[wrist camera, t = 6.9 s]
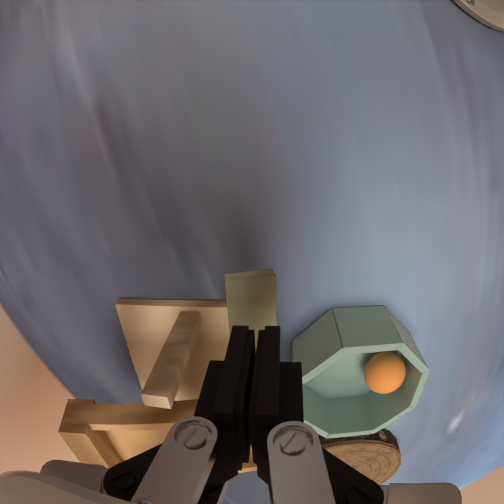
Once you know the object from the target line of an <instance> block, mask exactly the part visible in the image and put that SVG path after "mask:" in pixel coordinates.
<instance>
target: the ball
mask: <svg viewBox="0 0 504 504" xmlns="http://www.w3.org/2000/svg"><path fill="white" fill-rule="evenodd" d="M405 374H406V368H405V364H404V362H403V360H402V359H401V358H400V357H399V356H398V355H397V354H395V353H392V352H381V353H378V354H376V355H374V356H373V357H372V358H371V359H370V360H369V361H368V363H367V364H366V366H365V370H364V379H365V382H366V384H367V386H368V387H369V388H370V389H371V390H372V391H374V392H376V393H380V394H387V393H390V392H393V391H395V390H396V389H397V388H398V387H400V385H401V384H402V383H403V381H404V378H405Z"/></svg>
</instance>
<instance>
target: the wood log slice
mask: <svg viewBox="0 0 504 504" xmlns="http://www.w3.org/2000/svg"><path fill="white" fill-rule="evenodd" d="M318 436H319V440H320V444H321V447H323V448H324V449H326V450H327V451H328V452H330V453H331V454H333V455H334V456H336V457H337V458H339V459H340V460H342V461H343V462H345V463H346V464H348V465H349V466H351V467H352V468H354V469H355V470H357V471H359V472H360V473H362V474H363V475H365V476H367V477H368V478H370V479H371V480H373V481H375V482H376V483H377V484H378V485H380V484H382V483H384V482H385V481H386V480H388V479H389V478H390V477H391V476H392V475H394V474H395V473H396V471H397V469H398V468H399V466H400V465H401V454H400V450H399V447H398V443H397V440H396V438H395V437H394V435H393V434H392V433H391V432H390V431H389V430H386V429H381V430H379V431H378V432H376V433H374V434H366V435H358V436H349V437H338V438H325V437H323V436H321V435H319V434H318Z"/></svg>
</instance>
